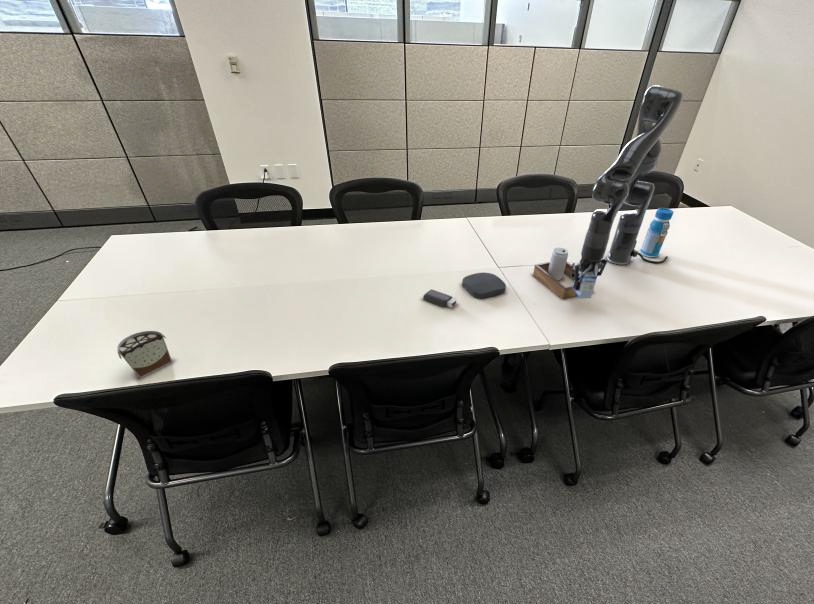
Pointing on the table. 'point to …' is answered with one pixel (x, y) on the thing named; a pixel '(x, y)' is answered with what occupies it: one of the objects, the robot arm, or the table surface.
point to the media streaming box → (483, 285)
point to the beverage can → (558, 263)
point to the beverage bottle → (656, 233)
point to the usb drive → (439, 298)
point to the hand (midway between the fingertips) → (582, 287)
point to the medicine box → (586, 285)
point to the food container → (144, 352)
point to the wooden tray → (554, 280)
